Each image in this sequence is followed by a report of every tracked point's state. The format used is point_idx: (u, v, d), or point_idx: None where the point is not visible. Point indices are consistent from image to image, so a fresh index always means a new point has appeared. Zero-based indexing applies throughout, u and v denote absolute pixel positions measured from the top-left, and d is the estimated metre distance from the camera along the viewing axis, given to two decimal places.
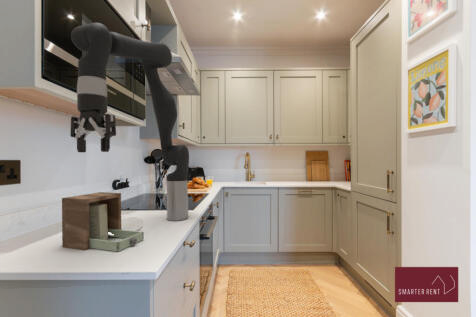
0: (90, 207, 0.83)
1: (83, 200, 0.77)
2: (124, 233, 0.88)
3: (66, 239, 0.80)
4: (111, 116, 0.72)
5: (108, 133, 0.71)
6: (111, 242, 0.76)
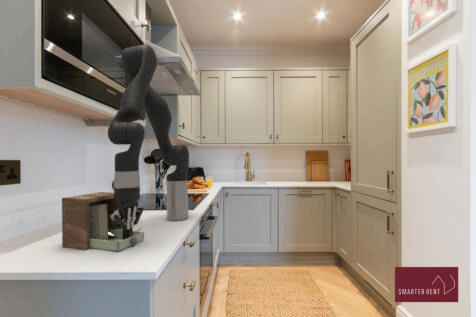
0: (90, 207, 0.83)
1: (83, 200, 0.77)
2: None
3: (66, 239, 0.80)
4: None
5: None
6: (111, 242, 0.76)
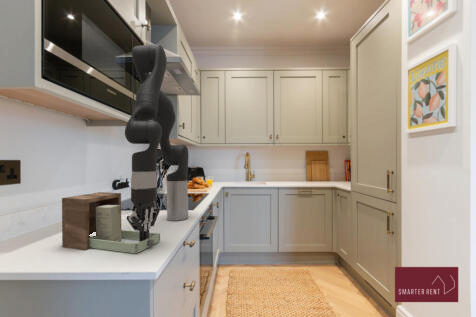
0: (103, 208, 0.81)
1: (83, 200, 0.77)
2: None
3: (66, 239, 0.80)
4: None
5: (153, 224, 0.82)
6: (129, 244, 0.74)
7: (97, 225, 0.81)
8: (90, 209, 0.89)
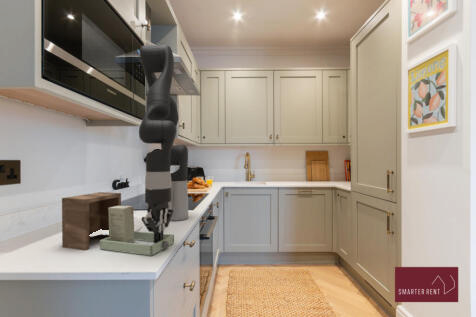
0: (116, 209, 0.79)
1: (83, 200, 0.77)
2: (153, 236, 0.84)
3: (66, 239, 0.80)
4: None
5: (167, 225, 0.80)
6: (144, 246, 0.73)
7: (110, 226, 0.80)
8: (90, 209, 0.89)
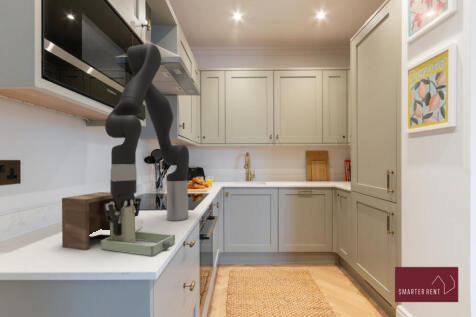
0: None
1: (83, 200, 0.77)
2: (154, 236, 0.84)
3: (66, 239, 0.80)
4: None
5: (137, 214, 0.86)
6: (145, 246, 0.73)
7: (111, 226, 0.80)
8: (90, 209, 0.89)
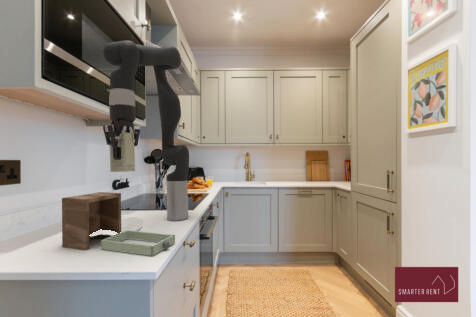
0: None
1: (83, 200, 0.77)
2: (154, 236, 0.84)
3: (66, 239, 0.80)
4: None
5: (137, 144, 0.86)
6: (145, 246, 0.73)
7: (111, 151, 0.80)
8: (90, 209, 0.89)
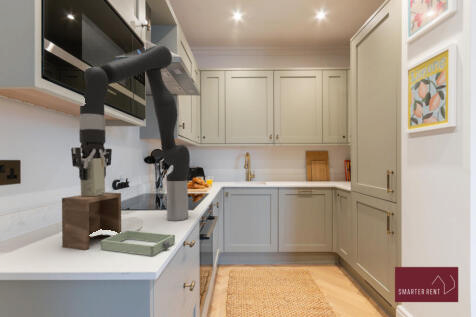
0: None
1: (83, 200, 0.77)
2: (154, 236, 0.84)
3: (66, 239, 0.80)
4: None
5: (110, 164, 0.91)
6: (145, 246, 0.73)
7: None
8: (90, 209, 0.89)
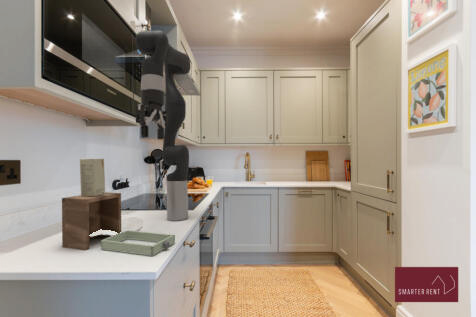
0: (86, 160, 0.84)
1: (83, 200, 0.77)
2: (154, 236, 0.84)
3: (66, 239, 0.80)
4: None
5: (167, 126, 0.94)
6: (145, 246, 0.73)
7: (81, 176, 0.84)
8: (90, 209, 0.89)
